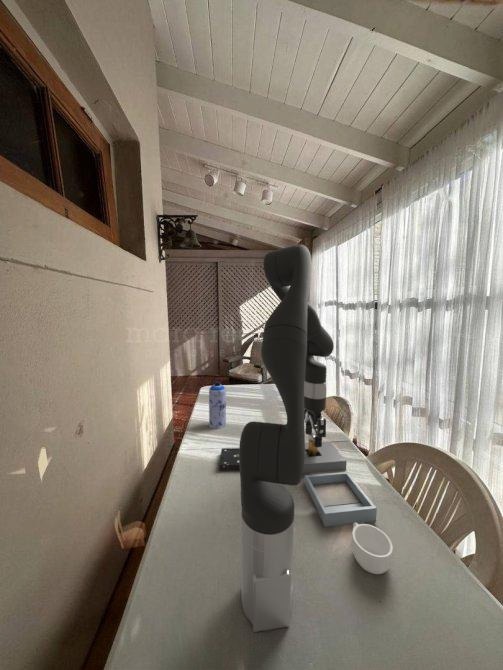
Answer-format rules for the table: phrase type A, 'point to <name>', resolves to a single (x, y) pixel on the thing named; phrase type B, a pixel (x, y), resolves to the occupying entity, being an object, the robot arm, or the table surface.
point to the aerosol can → (217, 406)
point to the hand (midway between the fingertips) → (313, 439)
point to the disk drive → (229, 459)
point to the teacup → (371, 548)
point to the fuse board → (324, 459)
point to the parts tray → (342, 512)
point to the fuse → (312, 446)
